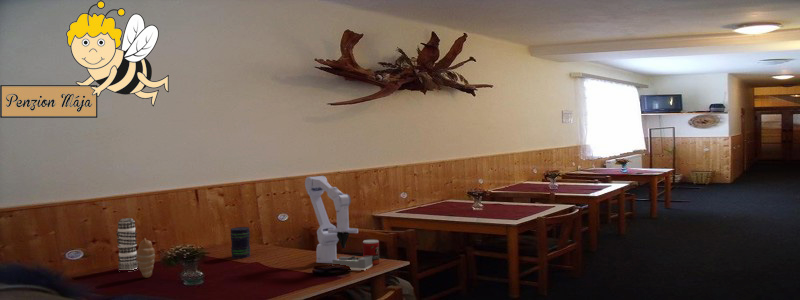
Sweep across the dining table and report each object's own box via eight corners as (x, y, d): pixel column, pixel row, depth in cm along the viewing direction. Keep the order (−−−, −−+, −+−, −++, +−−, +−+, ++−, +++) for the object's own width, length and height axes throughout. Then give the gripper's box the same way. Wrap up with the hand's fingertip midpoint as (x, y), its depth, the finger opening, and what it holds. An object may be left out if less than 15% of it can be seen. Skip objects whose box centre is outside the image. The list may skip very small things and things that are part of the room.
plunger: (347, 266, 276) (347, 258, 276) (353, 263, 283) (352, 255, 283) (356, 266, 275) (356, 259, 275) (361, 263, 281) (361, 256, 281)
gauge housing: (331, 269, 278) (330, 258, 278) (339, 264, 288) (339, 254, 287) (364, 270, 273) (364, 259, 273) (372, 265, 282) (372, 255, 282)
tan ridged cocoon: (138, 276, 275) (136, 237, 274) (156, 274, 277) (154, 236, 277) (136, 280, 266) (135, 240, 266) (155, 278, 269) (154, 239, 269)
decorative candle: (113, 271, 288) (111, 219, 288) (130, 267, 297) (128, 217, 296) (126, 272, 284) (124, 220, 284) (142, 268, 292) (140, 217, 292)
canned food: (372, 265, 282) (372, 242, 282) (360, 264, 287) (359, 241, 287) (382, 262, 288) (382, 240, 288) (370, 261, 293) (369, 239, 293)
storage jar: (230, 256, 317) (228, 228, 317) (248, 254, 321) (247, 226, 321) (233, 259, 308) (232, 230, 308) (252, 257, 312) (251, 228, 312)
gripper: (325, 221, 281) (326, 249, 282) (355, 221, 279) (356, 249, 279) (329, 218, 288) (330, 246, 289) (359, 218, 286) (359, 246, 286)
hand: (343, 248), depth 284 cm, fingers closed
